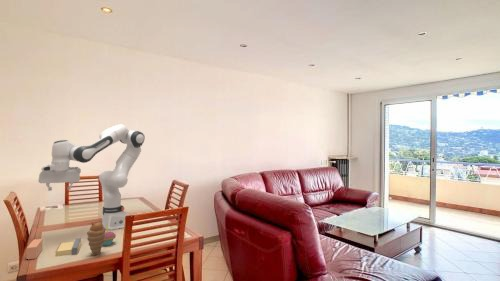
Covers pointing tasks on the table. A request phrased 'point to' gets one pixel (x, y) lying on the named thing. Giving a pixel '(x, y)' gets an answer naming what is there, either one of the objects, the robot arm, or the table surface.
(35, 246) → the block
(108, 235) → the cupcake
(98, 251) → the cat ice cream
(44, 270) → the table surface
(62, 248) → the yellow slab with bar
